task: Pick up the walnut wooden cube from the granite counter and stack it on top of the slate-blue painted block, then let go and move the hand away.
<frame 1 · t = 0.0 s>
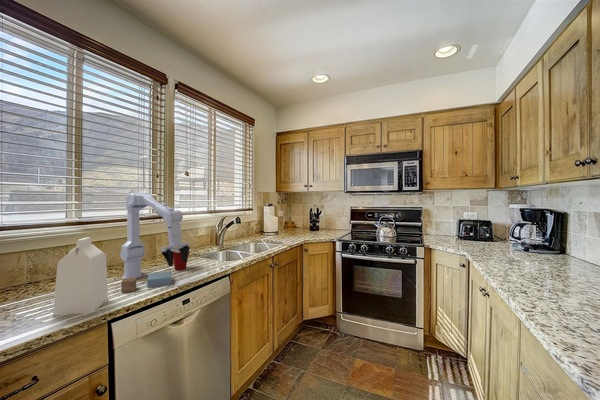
hand: (177, 264, 117), 11 cm above the countertop, tool pointing down, fingers open, 7 cm apart
slate block: (159, 283, 121), on the countertop
plastic cup: (180, 269, 144), on the countertop
milk: (82, 307, 93), on the countertop
walnut cube: (129, 290, 111), on the countertop
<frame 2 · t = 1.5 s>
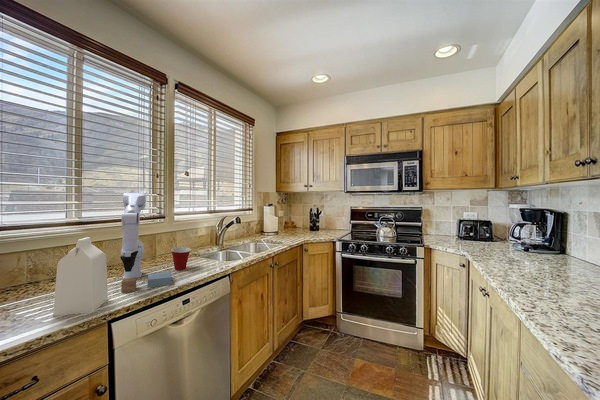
hand: (129, 269, 111), 9 cm above the countertop, tool pointing down, fingers open, 7 cm apart
nothing on the countertop moved.
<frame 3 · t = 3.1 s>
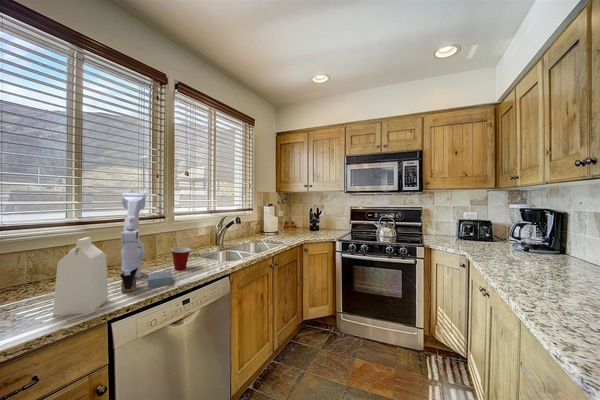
hand: (129, 286, 111), 1 cm above the countertop, tool pointing down, fingers closed on walnut cube, 5 cm apart
walnut cube: (129, 289, 111), on the countertop, touching gripper
everything else where it was.
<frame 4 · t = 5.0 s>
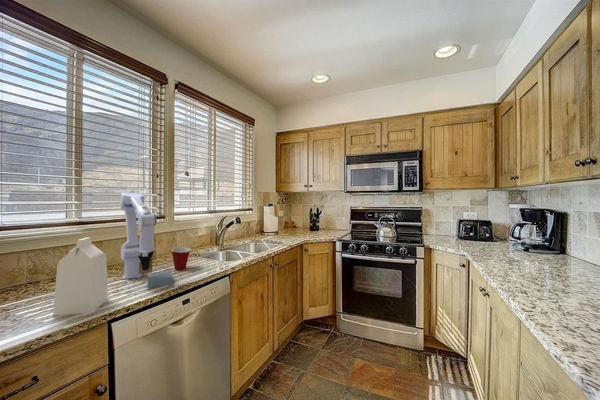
hand: (146, 268, 116), 8 cm above the countertop, tool pointing down, fingers closed on walnut cube, 5 cm apart
walnut cube: (145, 271, 116), point 7 cm above the countertop, touching gripper
everything else where it was.
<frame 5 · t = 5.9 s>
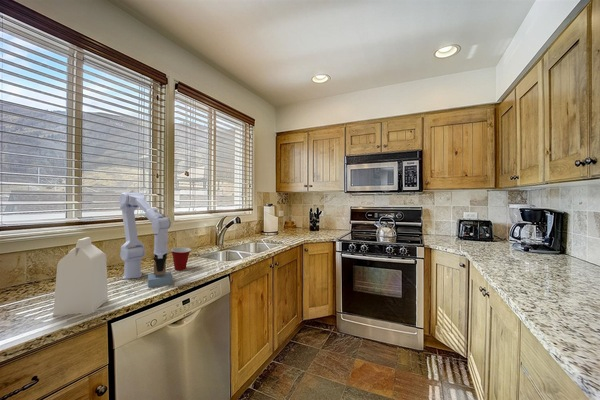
hand: (160, 269, 121), 6 cm above the countertop, tool pointing down, fingers closed on walnut cube, 5 cm apart
walnut cube: (159, 272, 121), point 5 cm above the countertop, touching gripper
everything else where it was.
when the fingers open (6 cm above the countertop, at t = 6.8 s): walnut cube drops 1 cm, point 4 cm above the countertop.
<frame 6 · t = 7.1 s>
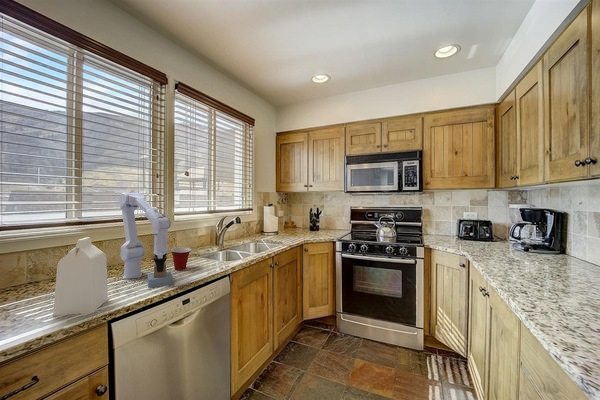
hand: (160, 269, 121), 6 cm above the countertop, tool pointing down, fingers open, 7 cm apart
walnut cube: (160, 275, 121), point 4 cm above the countertop
everything else where it was.
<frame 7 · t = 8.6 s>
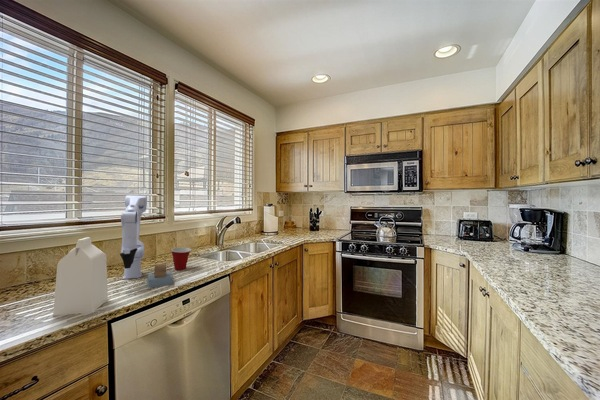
hand: (128, 266, 115), 9 cm above the countertop, tool pointing down, fingers open, 7 cm apart
slate block: (159, 283, 121), on the countertop, touching walnut cube
walnut cube: (160, 275, 121), point 4 cm above the countertop, touching slate block
everything else where it was.
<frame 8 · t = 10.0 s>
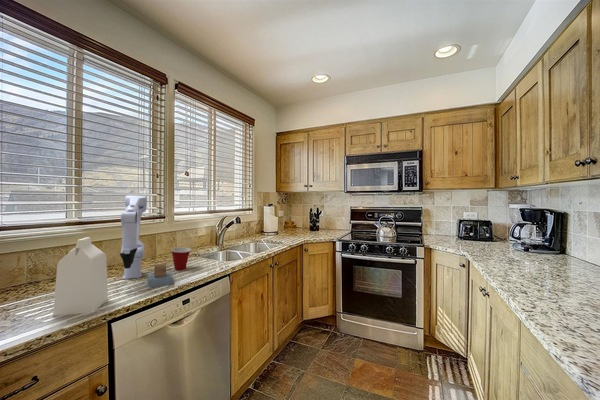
hand: (128, 266, 115), 9 cm above the countertop, tool pointing down, fingers open, 7 cm apart
slate block: (159, 283, 121), on the countertop
walnut cube: (160, 275, 121), point 4 cm above the countertop
everything else where it was.
at the end: walnut cube 0.4 cm off-centre on the slate block, point 4.1 cm above the slate block's base; walnut cube tilted 1°; the gripper is holding nothing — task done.
